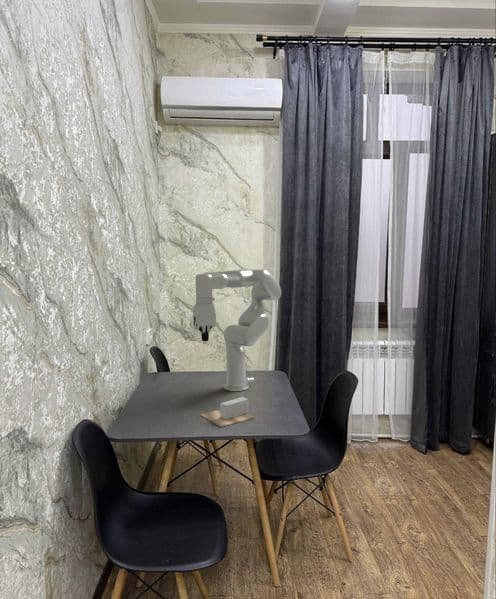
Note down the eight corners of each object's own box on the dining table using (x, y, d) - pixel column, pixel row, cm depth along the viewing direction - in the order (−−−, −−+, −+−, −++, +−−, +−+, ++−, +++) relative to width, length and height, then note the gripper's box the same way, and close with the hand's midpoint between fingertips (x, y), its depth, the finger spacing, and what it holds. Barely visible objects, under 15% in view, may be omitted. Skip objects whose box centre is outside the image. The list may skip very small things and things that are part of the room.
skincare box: (242, 396, 190) (219, 402, 182) (248, 399, 187) (226, 405, 179) (242, 410, 191) (220, 417, 183) (249, 413, 187) (226, 420, 180)
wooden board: (233, 407, 195) (233, 406, 195) (254, 418, 182) (254, 417, 182) (200, 415, 186) (200, 414, 186) (220, 427, 173) (220, 426, 173)
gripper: (214, 299, 211) (215, 337, 213) (185, 301, 202) (186, 341, 204) (222, 300, 205) (223, 340, 207) (193, 303, 196) (194, 344, 198)
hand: (205, 340), depth 206 cm, fingers closed
